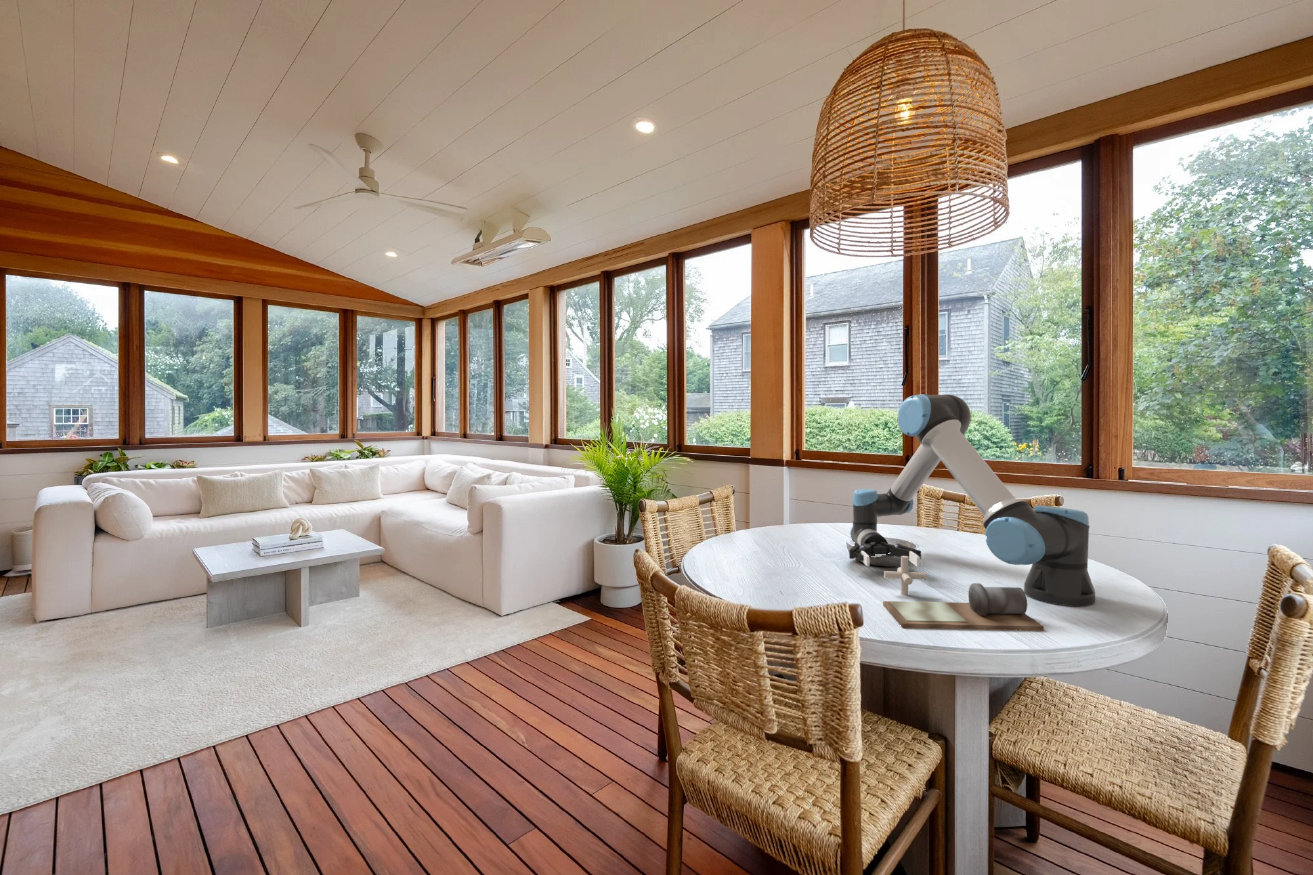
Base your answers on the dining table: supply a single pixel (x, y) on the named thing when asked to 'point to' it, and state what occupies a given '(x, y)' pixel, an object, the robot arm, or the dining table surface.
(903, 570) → the pipe connector
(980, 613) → the fitting board
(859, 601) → the dining table surface
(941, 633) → the dining table surface
